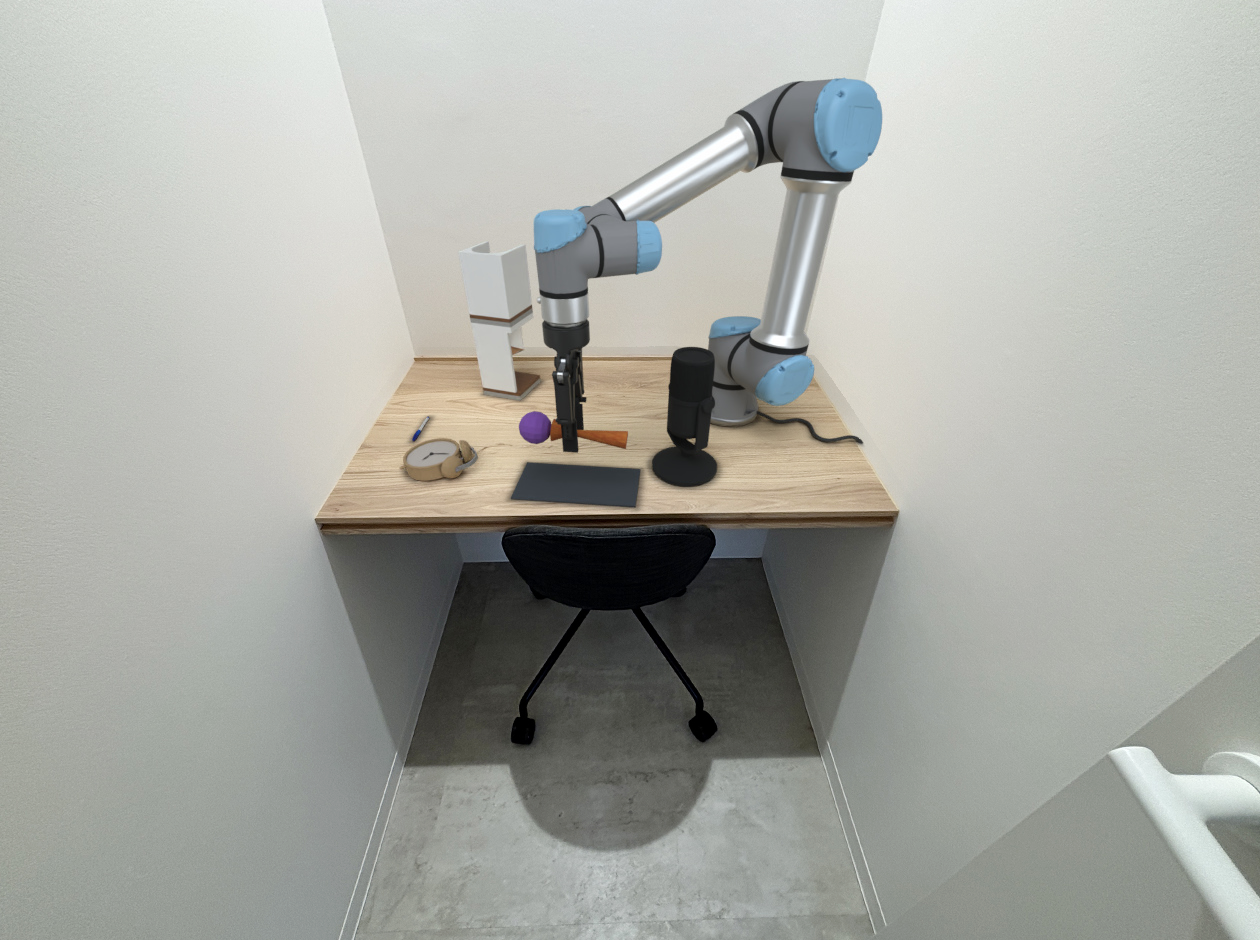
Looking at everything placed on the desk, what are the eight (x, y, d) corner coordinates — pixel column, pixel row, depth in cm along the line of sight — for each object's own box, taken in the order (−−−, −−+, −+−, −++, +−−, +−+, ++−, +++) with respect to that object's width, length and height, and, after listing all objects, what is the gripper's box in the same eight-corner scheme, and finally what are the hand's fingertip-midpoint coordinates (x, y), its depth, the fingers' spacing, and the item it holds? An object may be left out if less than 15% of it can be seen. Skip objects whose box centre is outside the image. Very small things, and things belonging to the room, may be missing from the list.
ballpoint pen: (416, 441, 113) (414, 438, 112) (412, 441, 113) (410, 438, 112) (430, 418, 121) (429, 414, 121) (426, 418, 121) (425, 414, 121)
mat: (640, 470, 104) (640, 468, 104) (635, 507, 94) (635, 506, 94) (527, 463, 106) (527, 462, 106) (510, 499, 96) (510, 497, 96)
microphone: (730, 473, 103) (747, 359, 89) (678, 495, 97) (687, 376, 83) (689, 443, 113) (699, 335, 98) (639, 461, 107) (641, 349, 92)
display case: (520, 400, 129) (500, 255, 108) (484, 394, 131) (457, 251, 111) (540, 381, 137) (525, 244, 117) (505, 376, 140) (485, 241, 120)
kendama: (625, 440, 88) (513, 424, 88) (623, 462, 92) (516, 448, 93) (630, 417, 92) (522, 402, 92) (628, 440, 96) (525, 426, 97)
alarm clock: (417, 438, 108) (481, 432, 105) (426, 456, 111) (488, 451, 108) (390, 468, 99) (459, 462, 96) (401, 487, 102) (468, 483, 99)
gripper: (554, 301, 88) (564, 417, 101) (527, 339, 73) (542, 469, 87) (597, 302, 87) (600, 419, 101) (578, 341, 72) (585, 472, 86)
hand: (573, 442), depth 94 cm, fingers closed on kendama, 5 cm apart
